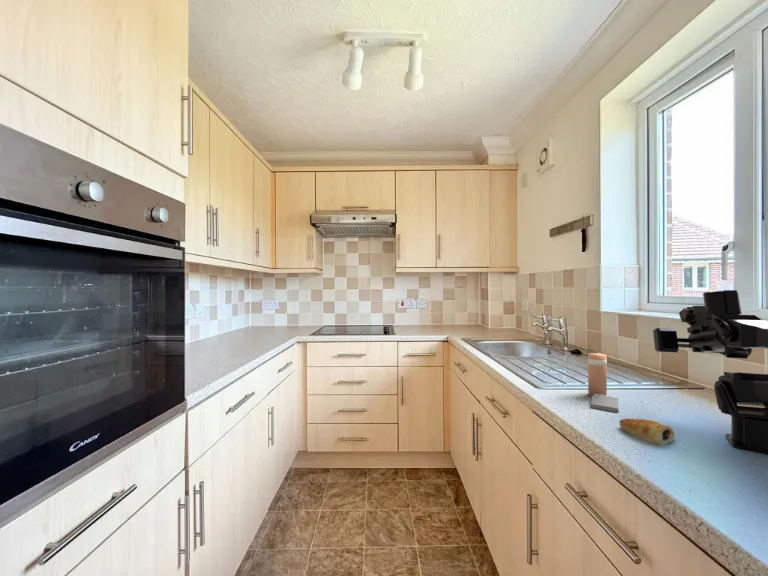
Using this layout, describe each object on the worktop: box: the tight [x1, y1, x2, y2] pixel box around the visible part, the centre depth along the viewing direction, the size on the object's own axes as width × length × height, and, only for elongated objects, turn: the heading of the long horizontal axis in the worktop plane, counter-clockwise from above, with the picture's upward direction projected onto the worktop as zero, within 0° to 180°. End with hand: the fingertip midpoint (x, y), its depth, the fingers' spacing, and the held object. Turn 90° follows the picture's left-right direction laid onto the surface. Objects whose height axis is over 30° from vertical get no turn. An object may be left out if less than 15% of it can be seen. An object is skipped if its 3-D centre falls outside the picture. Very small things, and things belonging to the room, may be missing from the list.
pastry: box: [618, 418, 676, 446], centre depth 74 cm, size 9×7×4 cm
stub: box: [587, 352, 608, 397], centre depth 100 cm, size 5×5×12 cm
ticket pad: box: [590, 394, 619, 413], centre depth 92 cm, size 10×6×1 cm, turn 146°
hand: (682, 344), depth 93 cm, fingers open, 9 cm apart
